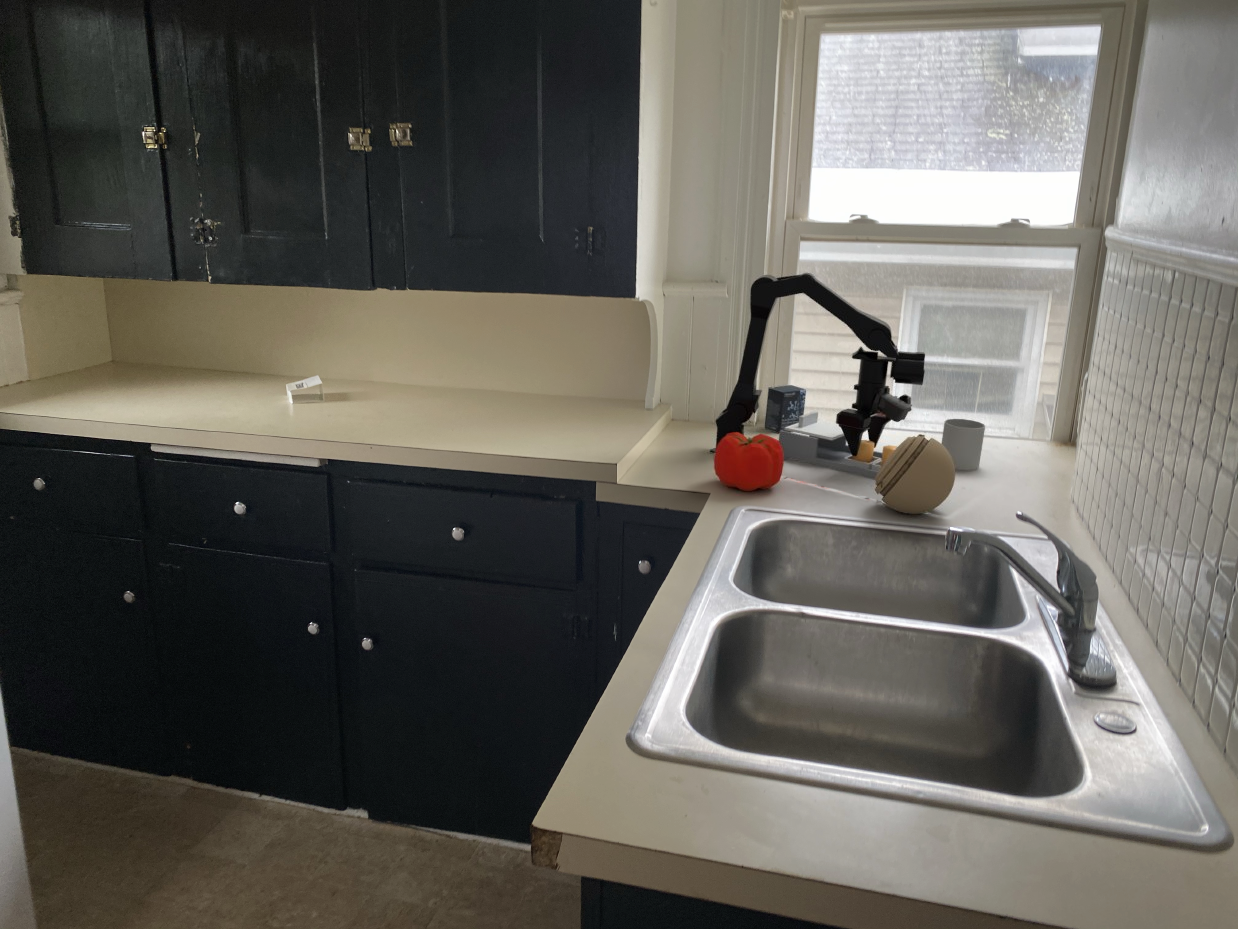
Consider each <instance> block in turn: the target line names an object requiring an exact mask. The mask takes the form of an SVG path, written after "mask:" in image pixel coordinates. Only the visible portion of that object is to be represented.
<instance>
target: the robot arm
mask: <svg viewBox="0 0 1238 929" xmlns="http://www.w3.org/2000/svg"><path fill="white" fill-rule="evenodd" d="M798 294H799V295H800V294H804V295H806V296H807V297H808V298H809V299H811V300H812V301H814V302H815V303H817V304H818V305H819V306H821V307H822V308H823V309H824V310H826V311H827V312H829V313H830V314H832V315H833V316H834V317H835V318H837V319H838V320H840V321H841V322H842V323H844V324H845V325H846V326H847V327H848V328H849V329H850V330H851V331H852V333H853V334H854V335H855V336H856V338H857V339H859V341H860V342H861V343H862V344H863V345H864V346H865V347H866V348H867V349H869V350H865V349H864V348H863V346H860V347H859V348H858V349H857V350H856V351H855V352H852V355H851V359H853V360H860V362H859V370H858V371H859V372H858V378H857V380H858V382H857V383H856V384H854V385H853V390H854V391H856V398H855V402H853V403H851V408H846V409H843V410H841V411H839V412H838V413H837V414H836V418H835V423H837V424H839V427H841V429H842V431H843V434H844V436H845V438H846V441H847V442H846V444H847V445H848V446H849V449H850V452H851V454H852V455H853V456H857V454H858V451H859V447H860V443H861V440H863V439H862V438H863V434H865V432H866V431H867V435H868V436H867V437H868V441H872V442H874V449H875V448H877V445H878V443H879V441H880V438H881V436H882V434H883V431H884V429H885V427H886V425H887V424H888V423H889V422H891V421H893V422H895V423H899V422H900V421H904V420H905V419H906V418H907V415H908V413H909V412H912V406H913V404H912V397H911V396H909V395H908V394H905V393H904V394H902V395H900V396H899V397H898V396H897V395H893V394H890V391H891V388H890V386H889V385H886V384H887V377H888V370H889V369H888V368H889V363H890V364H891V366H890V373H889V374H890V375H889V378H890V379H891V378H892V380H893V381H894V384H902V385H903V384H904V385H905V384H906V385H915V386H923V384H924V379H925V378H924V377H925V370H926V369H925V360H926V353H925V352H924V351H915V352H911V351H900V350H899V349H898V345H896V344H895V342H894V341H893V339H892V336H893V335H892V329H891V326H890V325H889V324H888V323H887V322H886V321H885V320H882V319H880V318H878V317H876V316H875V315H872V314H869V313H867V312H864V311H863V310H861V309H858V308H857V307H856V306H854V305H853V304H851V302H848V300H846V299H845V298H843V297H842V296H841V295H839V294H838V293H836V292H835V291H833V290H832V289H831V288H830V287H829V286H827V285H826V284H824V283H823V282H821V281H820V280H819V279H818V278H816V276H815V275H814V274H812V273H811V272H804V273H801V274H794V275H788V276H787V275H786V276H785V275H784V276H778V277H775V276H774V275H771V274H765V275H764V274H763V275H762V276H760V277H758V278H757V279H755V281H753V282H752V284H751V287H750V296H749V297H750V298H749V309H750V310H749V311H750V312H749V313H750V320H749V325H748V329H747V336H746V340H745V345H744V350H743V355H742V358H741V359H742V360H741V364H740V369H739V374H738V379H737V380H736V384H735V386H734V389H733V391H732V393H731V395H730V397H729V400H728V403H727V405H726V408H725V409H723V410H722V411H721V412H720V413H719V415H718V416H717V418H716V419H715V425H716V439H715V448H711V449H709V453H713V454H715V451H716V448H717V445H718V443H719V442H720V441H721V439H722V438H723V437H725V436H726V435H727V434H728V433H733V432H738V433H740V434H742V435H744V436H745V434H744V433H745V425H744V424H745V423H747V422H748V421H750V419H751V418H752V416H753V415H754V414H756V413H757V411H758V409H759V408H760V405H759V404H760V403H759V401H760V396H761V394H762V392H763V389H757V376H758V373H759V366H760V363H761V356H762V353H763V349H764V343H765V340H766V334H767V329H768V324H769V320H770V317H771V315H772V314H773V311H774V309H775V306H776V303H777V301H778V299H779V298H784V297H790V296H794V295H795V296H796V295H798ZM879 352H880V353H882V354H883V355H884V356H883V355H879Z"/></svg>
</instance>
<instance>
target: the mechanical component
mask: <svg viewBox="0 0 1238 929" xmlns="http://www.w3.org/2000/svg"><path fill="white" fill-rule="evenodd" d="M941 443H942V442H939V440H937V439H935V438H933V437H931V438H930V439H927V438H926V435H925V434H921V433H919V434H917V436H915V435H914V436H907V438H906V439H904V440H903V441H902V442H901V443H900V444H899V445H898V446H897V448H896V449H895V450H894V451H893V452H892V454H891V455H890V456H889V457H888V459H887V460H886V461H885V463H884V464H883V466H882V467H881V469H880V470H879V472H878V474H877V476H876V477H875V478H874V481H875V488H874V492H875V493H876V495H879V494H880V495H881V496H882V498H881V501H882V502H883V504H884V505H886V506H888V507H889V508H891V509H893V510H894V511H896V512H899V513H902V512H903V514H907V513H909V515H910V514H911V515H917V514H924V513H927V512H929V511H930V512H931V511H932V510H934V509H936V508H938V507H939V506H940V505H941V504H943V503H944V501H946V500H947V498H948V497H949V495H950V494H951V492H952V490H953V488H954V485H955V480H956V469H955V467H954V463H953V460H952V457H951V455H950V454H949V452H948V451H947V449H946V448H945V447H944V446H943V445H942V444H941Z"/></svg>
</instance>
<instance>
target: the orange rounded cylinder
mask: <svg viewBox="0 0 1238 929" xmlns="http://www.w3.org/2000/svg"><path fill="white" fill-rule="evenodd" d="M873 451H875V448H874V442H872V441H869V439H868V440H867V439H861V443H860V447H859V451H858V454H857V456H854V459H853V460H857V461H861V462H866V463H870V462H872V460H873Z"/></svg>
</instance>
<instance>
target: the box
mask: <svg viewBox="0 0 1238 929" xmlns="http://www.w3.org/2000/svg"><path fill="white" fill-rule="evenodd" d="M806 394H807V389H806V388H802V387H799V386H796V385H793V384H789V385H781V386H780V385H779V386H773V387H772V386H771V387H768V390H767V399H766V400H767V401H766V407H765V408H766V409H765V419H764V420H765V421H764V429H766V430H768V431H771V432H774V433H776V434H779V433H780V431H781V430H782V431H786V432H791V431H787V430H785V427H788V426H790V425H793V424H796V423H799V416H802V415H805V405H806V396H807V395H806Z"/></svg>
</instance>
